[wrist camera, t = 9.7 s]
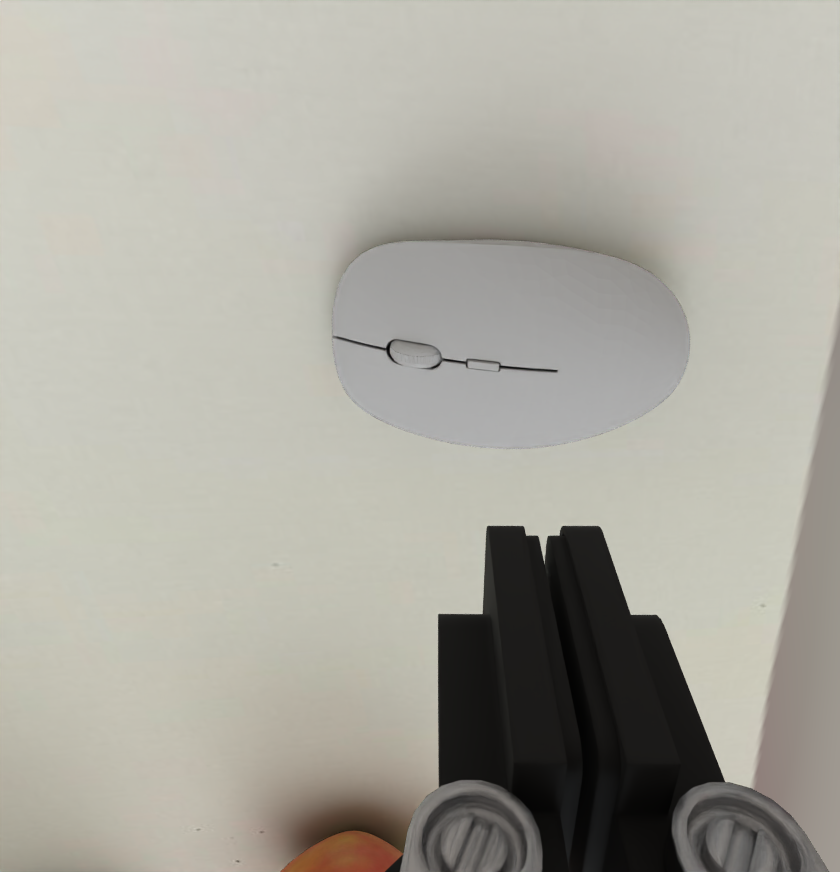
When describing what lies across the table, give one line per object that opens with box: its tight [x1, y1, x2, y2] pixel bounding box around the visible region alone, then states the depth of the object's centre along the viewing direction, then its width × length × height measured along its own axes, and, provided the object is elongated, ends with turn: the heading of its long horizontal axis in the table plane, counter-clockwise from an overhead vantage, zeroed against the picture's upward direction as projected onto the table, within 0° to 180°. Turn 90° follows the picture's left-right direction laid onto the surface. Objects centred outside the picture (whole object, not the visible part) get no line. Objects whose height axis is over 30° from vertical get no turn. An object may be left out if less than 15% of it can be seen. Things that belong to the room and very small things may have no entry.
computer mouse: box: [332, 239, 690, 449], centre depth 20 cm, size 6×10×3 cm, turn 88°
